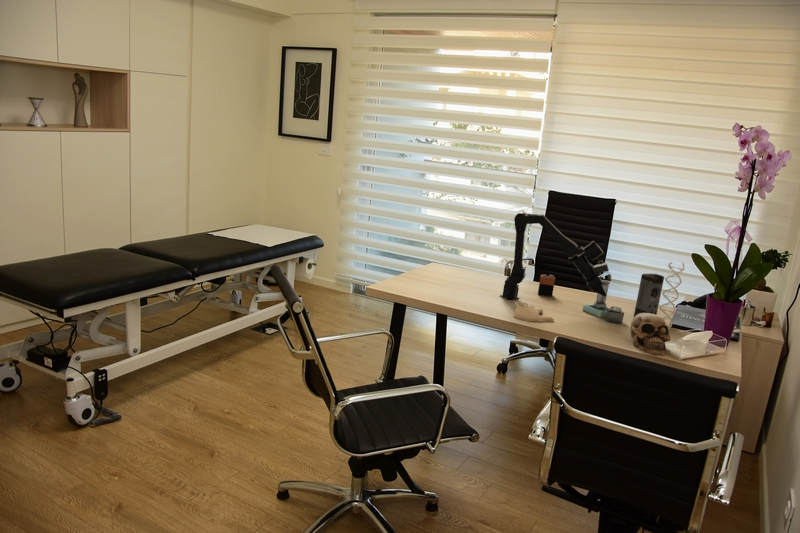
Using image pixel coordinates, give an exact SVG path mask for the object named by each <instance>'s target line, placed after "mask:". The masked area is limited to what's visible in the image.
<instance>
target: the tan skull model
mask: <svg viewBox="0 0 800 533" xmlns="http://www.w3.org/2000/svg"><path fill="white" fill-rule="evenodd" d="M668 326H669V325H667V323H666V321H665V318H664V319H663V317H662V316H660V315H658V314H657V315H655V314H651V313H640V314H638V315H636V316H635V317H634V316H633V318H632V321H631V323H630V326H629V332H630V337H631V338H632V339H633V340H632V344H633V346H635V348H637V349H638V350H641V351H642V352H643V353H646V352H647V353H648V354H651V355H654V356H664V355H666V352H667V347H666V344H665V343H667V342H670V341H671V334H670V332H669V330H670V329H668Z"/></svg>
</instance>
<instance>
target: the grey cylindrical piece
mask: <svg viewBox="0 0 800 533" xmlns="http://www.w3.org/2000/svg"><path fill="white" fill-rule="evenodd" d="M601 280H602V284H601V285H602V287H603V289H604V291H605V293H606V296H605V297H604V296H603V295H601V294H599V293H597V292H596V294H597V295H596V298H595V300H596V301H594V303H593V304H594V307H593V308H595V309H598V310H606V307H607V303H606V301H607V298H608V297H607V296H608V291H609V288H610V287H609V285H611V284H610V283H611V282H610V281H609V280H606V279H601Z"/></svg>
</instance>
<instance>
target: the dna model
mask: <svg viewBox="0 0 800 533" xmlns="http://www.w3.org/2000/svg"><path fill="white" fill-rule="evenodd" d="M671 264H673V261H672V262H669V263H668V265H667V266H668V268H669V270H670V271H672V272H673V273H674V274H672V275H668V276H667V277H665V278H664V281H665V282H666V283H667V285H669V286H670V287H671V288H669V289H667V290H666V289H665V290H664V291H663V292H662V297H664V298H665V299H666V300H667V301H668V302H666V303H664V304H662V305H660V306H659V310H660V311H662V313H663V314H664V315H665V316H663V317H662V318H663V319H664V320H665V319H668V320H669V321H670V325H667V326H668V329H669V330H670V329H671V328H672V326H673V320H672V318H671V316H673V315H674V314H675V313H676V306H675V303H674V302H676V301H677V300H678V298H679V292H678V289H677V288H678V287H679V286H680V285H681V284H682V283H683V282H682V279H681V276H680V275H679V274H680V273H682V272H683V271H685V263H684V262H683V261H682V262H681V264H682V268H679V267H677V270H680V271H675V270H674V269H676V267H675V266H671ZM670 278H678V279H679V283H678V282H675V281H674V282H673V281H671V280H668V279H670ZM671 283H674V284H676V285H675V286H673V285H672V284H671ZM670 291H674V292H675V294H676V297H675V296H669V295H667V294H665V293H666V292H670ZM669 298H672V299H673V300H670V299H669ZM668 305H671V306H672V307H673V311H670V310H666V309H664V308H662V307H664V306H668ZM666 311H667V312H670V314H668V313H666Z"/></svg>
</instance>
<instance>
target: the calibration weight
mask: <svg viewBox="0 0 800 533" xmlns="http://www.w3.org/2000/svg"><path fill="white" fill-rule="evenodd" d="M610 308H611V309H607V313H606V317H604V318H605V319H604V320H605V321H606V322H607V321H608V322H607V323H610V324H614V323H615V325H617V324H618V325H621V323H622V324H623V321H624V316H625V312H624V311H622V308H621V307H619V306H613V305H611V306H610Z"/></svg>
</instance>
